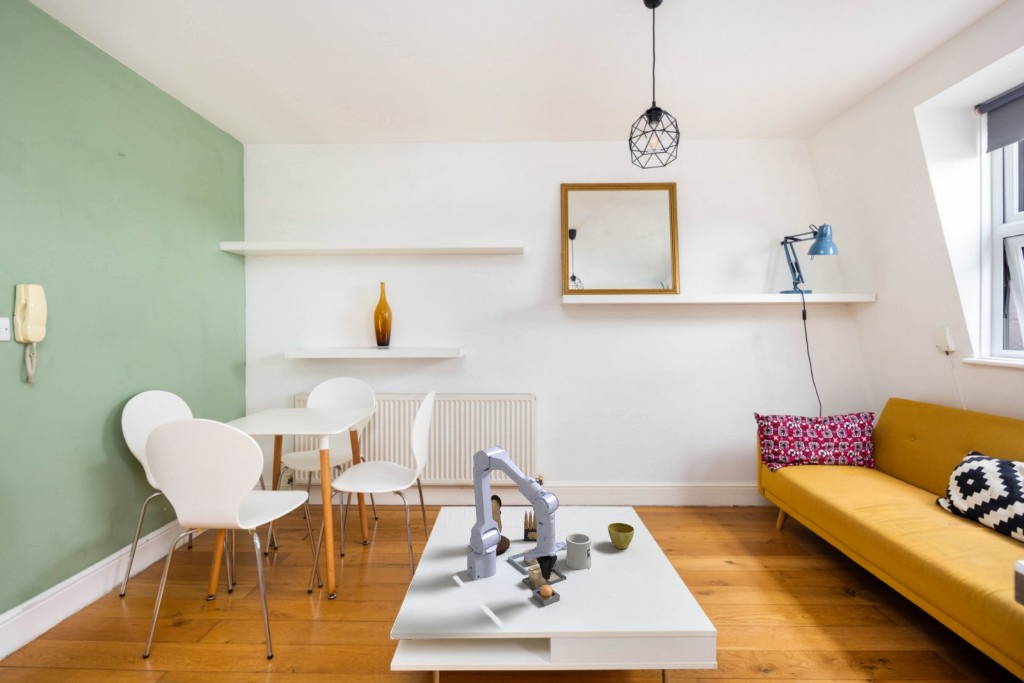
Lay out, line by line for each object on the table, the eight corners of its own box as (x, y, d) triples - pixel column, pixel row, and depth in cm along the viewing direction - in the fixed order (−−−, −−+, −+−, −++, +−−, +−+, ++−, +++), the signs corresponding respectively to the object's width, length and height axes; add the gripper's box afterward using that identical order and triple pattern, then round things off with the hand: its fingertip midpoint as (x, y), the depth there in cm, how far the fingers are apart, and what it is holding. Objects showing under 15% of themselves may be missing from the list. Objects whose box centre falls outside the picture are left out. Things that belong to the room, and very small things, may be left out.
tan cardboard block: (530, 568, 162) (530, 555, 162) (523, 563, 165) (523, 550, 165) (539, 565, 164) (539, 552, 164) (533, 560, 167) (532, 548, 167)
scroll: (493, 562, 167) (493, 507, 167) (463, 550, 176) (463, 498, 176) (517, 547, 179) (517, 495, 179) (488, 537, 188) (488, 488, 187)
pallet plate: (535, 596, 145) (535, 590, 145) (519, 583, 153) (519, 577, 153) (569, 583, 153) (569, 578, 153) (553, 571, 160) (553, 566, 160)
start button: (544, 601, 139) (544, 592, 139) (537, 595, 142) (537, 587, 142) (554, 597, 141) (554, 589, 141) (547, 591, 144) (547, 583, 144)
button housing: (543, 610, 138) (543, 601, 138) (532, 600, 143) (532, 591, 143) (559, 604, 141) (559, 594, 141) (548, 594, 146) (548, 585, 146)
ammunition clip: (523, 542, 183) (523, 512, 183) (523, 540, 185) (523, 510, 185) (550, 542, 183) (550, 512, 183) (550, 540, 185) (550, 510, 185)
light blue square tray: (526, 578, 156) (526, 571, 156) (508, 562, 166) (508, 556, 166) (555, 568, 163) (555, 562, 163) (535, 554, 173) (535, 548, 173)
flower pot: (632, 540, 184) (632, 522, 184) (636, 552, 174) (636, 533, 174) (606, 539, 185) (606, 522, 185) (609, 551, 175) (609, 532, 175)
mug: (591, 573, 159) (591, 545, 159) (564, 571, 161) (564, 542, 160) (592, 556, 171) (592, 530, 171) (567, 554, 173) (567, 528, 173)
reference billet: (535, 587, 148) (535, 573, 148) (528, 581, 152) (528, 567, 152) (545, 583, 150) (545, 569, 150) (538, 578, 154) (538, 564, 154)
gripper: (533, 544, 134) (534, 591, 135) (572, 533, 142) (572, 577, 142) (520, 536, 140) (520, 580, 141) (558, 525, 148) (558, 567, 148)
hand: (546, 578), depth 142 cm, fingers closed
